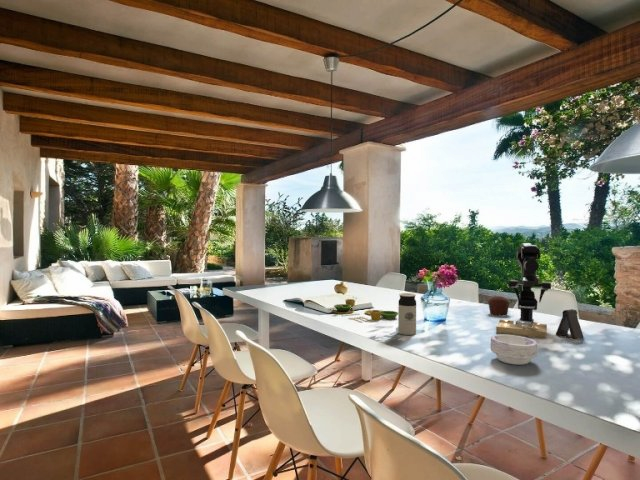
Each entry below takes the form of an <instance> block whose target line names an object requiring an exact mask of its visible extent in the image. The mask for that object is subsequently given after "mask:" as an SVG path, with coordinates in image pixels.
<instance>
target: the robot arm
mask: <svg viewBox="0 0 640 480" xmlns="http://www.w3.org/2000/svg"><path fill="white" fill-rule="evenodd" d="M541 256H542V255H541V250H540V248H539V247H538V245H536V244H532V243H530V242H529V243H527V242H526V243H525V242H523V243H521V244H520V247H518V249H517V250H516V260H517V262H518V265H519V266H520V267H521V281H519V280H516V279H510V280H508V285H507V286H508V287H510V288H511V289H512V290H513V291H514V292H515V295H516V298H517V309H518V310H520V318H519V319H518V320H521V321H531V323H534V321H535V319H534V318H533V315H534V314H533V313H534V311H536V310H538V300H537V298H536V296H535V294H536V293H535V292H534V291H533V290H532V288H534V287H535V288H537V287H538V288H541V289H540V293H539V304H540V303H541V302H542V298H543V296H544V295H545V292H547V291H549V290H551V289H552V283H551V281H542V282H540V277H539V276H537V271H538V270H539V266H540V265H539V263H538V261H537V260H540V258H541ZM520 286H521V289H522V290H520V288H519V287H520ZM533 310H534V311H533Z"/></svg>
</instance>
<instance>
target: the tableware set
mask: <svg viewBox="0 0 640 480" xmlns="http://www.w3.org/2000/svg"><path fill="white" fill-rule="evenodd" d="M355 304H356V299H351V298H350V299H349V298H347V299H345V304H344V303H341V304H339V303H338V304H334V305H333V307H334V308H336V309H337V310H331V311H332V313H334V314H340V315H341V317H348V316H349V318H347V319H348V320H350V321H351V320H352V321H355V322H357V323H364V322H365V323H368V322H373V321H374V322H375V321H381V317H382V319H384V320H394V319H396V318H397V316H398V311H394V310H380V309H369V310H366V311H364V314H366V315H368V316H370V318H371V319H370V318H369V319H368V318H367V317H364V316H358V315H361V314H360V313H354V312H355V310H354V309H350V308H351V307H353V306H354V307H355ZM356 315H357V316H358V317H350V316H356Z"/></svg>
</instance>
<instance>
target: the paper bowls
mask: <svg viewBox="0 0 640 480" xmlns="http://www.w3.org/2000/svg"><path fill="white" fill-rule="evenodd" d="M490 352H492V353H494V354H495V355H496V357H497V359H498V360H499V361H500V362H502V363H505V364H509V365H518V366H519V365H520V366H523V365H527V364H529V363H530V362H531V360H532V359H535V358H537V356H538V342H537V341H536V340H534V339H532V338H530V337H526V336H518V335H509V334H494V335H492V336H491V337H490Z"/></svg>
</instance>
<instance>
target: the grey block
mask: <svg viewBox="0 0 640 480" xmlns="http://www.w3.org/2000/svg"><path fill="white" fill-rule="evenodd" d="M514 324H517V325H526V326H532V322H531V321H521V320H519V319H518V320H515V323H514Z"/></svg>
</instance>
